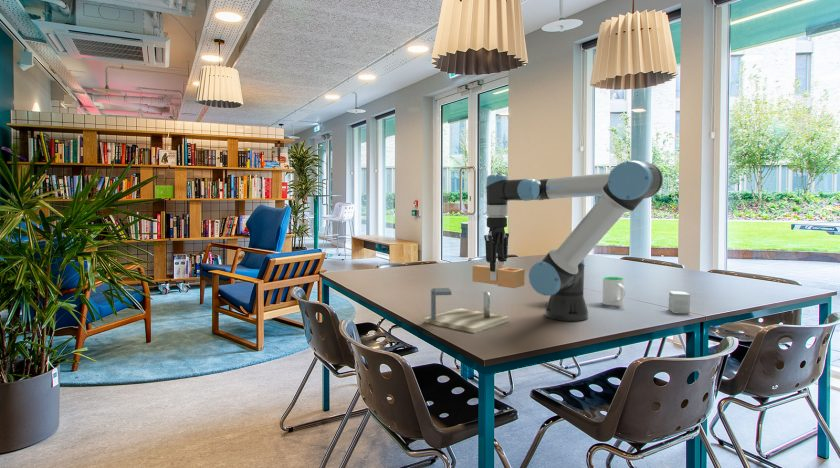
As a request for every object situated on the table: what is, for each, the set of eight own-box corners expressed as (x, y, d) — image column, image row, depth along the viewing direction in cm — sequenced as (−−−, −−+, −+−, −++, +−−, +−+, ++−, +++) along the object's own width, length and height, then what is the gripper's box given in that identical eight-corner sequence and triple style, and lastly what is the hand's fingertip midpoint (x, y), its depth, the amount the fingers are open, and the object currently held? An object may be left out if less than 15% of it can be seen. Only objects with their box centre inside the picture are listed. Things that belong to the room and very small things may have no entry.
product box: (668, 309, 200) (668, 290, 200) (684, 310, 199) (685, 291, 198) (672, 313, 194) (673, 293, 194) (689, 313, 193) (690, 294, 192)
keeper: (448, 315, 185) (448, 287, 184) (451, 320, 178) (451, 291, 177) (430, 316, 185) (430, 288, 184) (431, 321, 178) (431, 291, 177)
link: (524, 285, 189) (524, 269, 188) (514, 288, 183) (514, 271, 183) (480, 279, 201) (480, 264, 201) (469, 281, 196) (469, 266, 196)
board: (509, 321, 183) (509, 316, 183) (474, 333, 168) (474, 328, 168) (459, 311, 198) (459, 308, 198) (423, 322, 182) (423, 318, 182)
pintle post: (490, 317, 182) (491, 292, 182) (487, 318, 181) (487, 293, 180) (485, 316, 184) (485, 291, 183) (482, 317, 182) (482, 292, 182)
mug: (633, 307, 204) (633, 281, 204) (614, 308, 203) (615, 282, 202) (616, 301, 216) (616, 276, 215) (598, 301, 215) (599, 277, 214)
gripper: (500, 215, 199) (500, 275, 201) (475, 217, 187) (475, 281, 188) (517, 216, 194) (517, 277, 196) (492, 217, 182) (493, 283, 183)
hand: (497, 279), depth 192 cm, fingers closed on link, 3 cm apart
